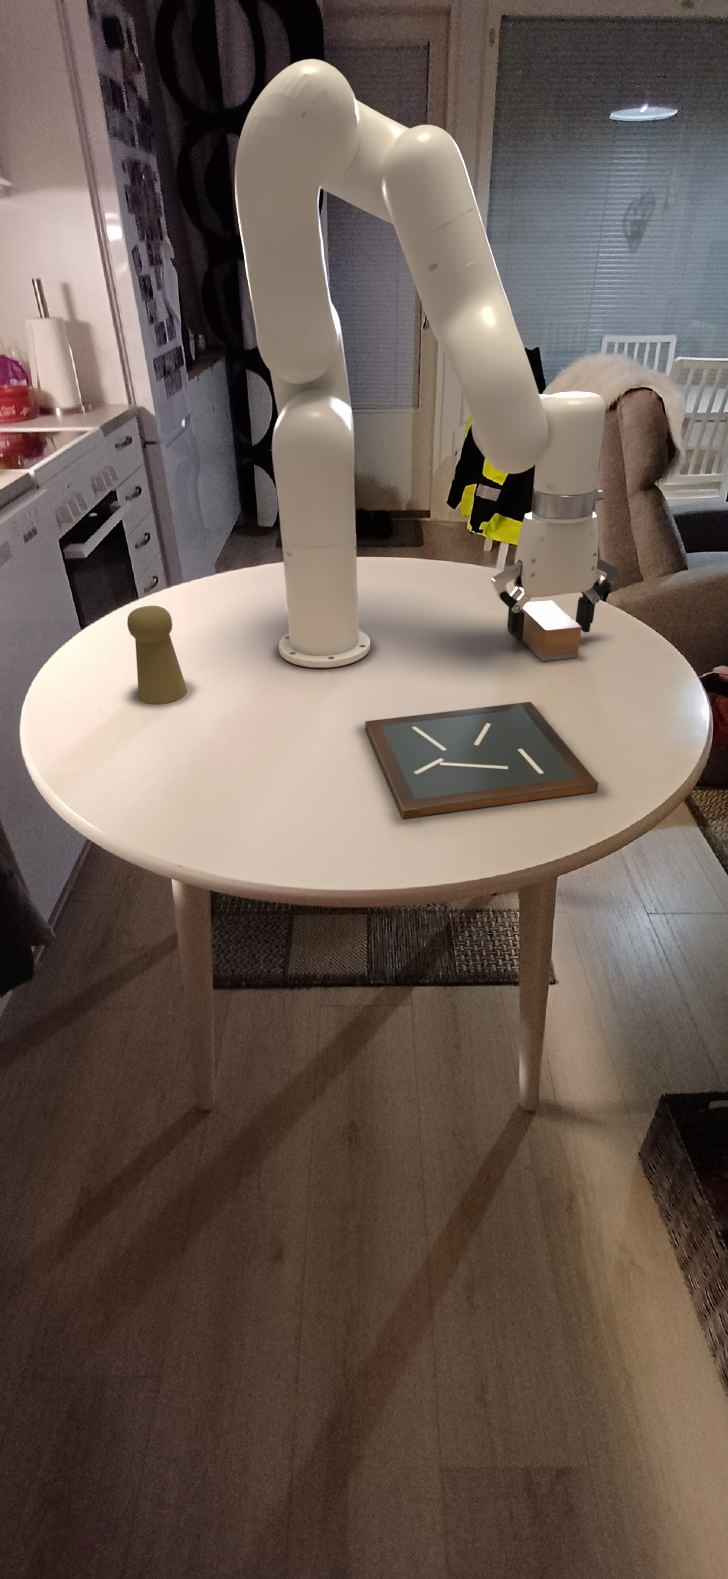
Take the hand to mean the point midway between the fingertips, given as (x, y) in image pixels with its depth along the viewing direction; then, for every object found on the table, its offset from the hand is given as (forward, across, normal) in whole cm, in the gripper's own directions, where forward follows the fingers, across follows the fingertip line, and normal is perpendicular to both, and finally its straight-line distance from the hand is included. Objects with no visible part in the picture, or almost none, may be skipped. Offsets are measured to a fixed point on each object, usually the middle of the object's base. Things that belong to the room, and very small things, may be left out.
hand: (549, 632), depth 106 cm
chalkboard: (+2, +19, +26) cm, 32 cm away
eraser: (+2, 0, 0) cm, 2 cm away
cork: (+1, +52, +2) cm, 52 cm away
